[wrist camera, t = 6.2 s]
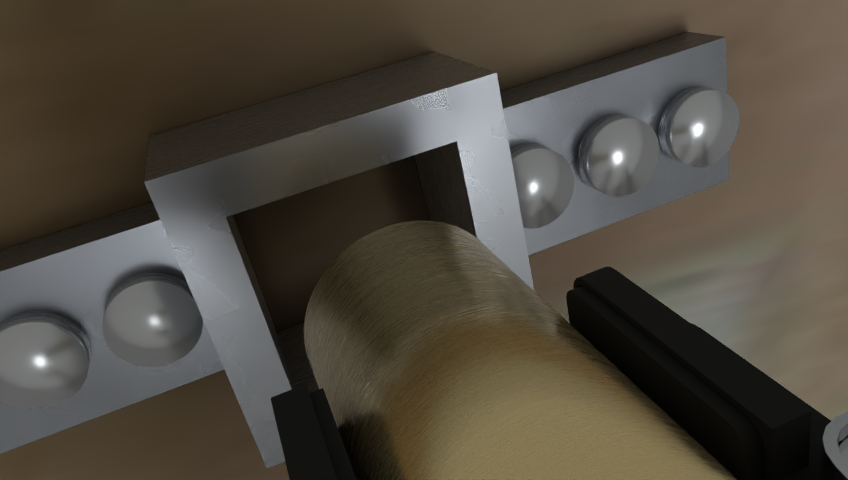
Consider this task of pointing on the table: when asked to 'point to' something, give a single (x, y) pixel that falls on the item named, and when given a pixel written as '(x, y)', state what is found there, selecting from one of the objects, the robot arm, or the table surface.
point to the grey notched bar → (321, 164)
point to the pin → (475, 373)
